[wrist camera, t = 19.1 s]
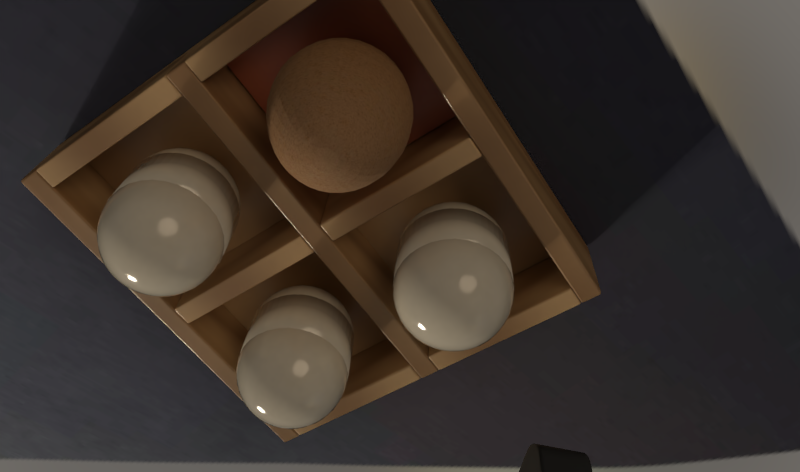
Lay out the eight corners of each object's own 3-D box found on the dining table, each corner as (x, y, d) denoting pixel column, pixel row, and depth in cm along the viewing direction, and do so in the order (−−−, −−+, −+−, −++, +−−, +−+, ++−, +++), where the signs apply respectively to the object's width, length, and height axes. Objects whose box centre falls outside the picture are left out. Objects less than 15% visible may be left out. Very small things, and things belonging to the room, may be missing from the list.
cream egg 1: (202, 108, 26) (142, 187, 21) (274, 194, 28) (234, 286, 23) (122, 164, 27) (46, 251, 22) (195, 242, 29) (140, 340, 24)
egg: (271, 26, 24) (224, 90, 19) (407, 10, 24) (396, 72, 19) (298, 151, 26) (262, 238, 21) (423, 139, 26) (417, 225, 21)
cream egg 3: (470, 162, 27) (475, 252, 21) (525, 243, 28) (542, 345, 23) (378, 214, 28) (362, 311, 23) (436, 289, 29) (433, 394, 24)
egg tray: (374, -88, 23) (365, -71, 20) (588, 247, 29) (602, 294, 26) (60, 144, 28) (18, 181, 25) (297, 391, 34) (284, 443, 31)
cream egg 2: (319, 248, 29) (291, 348, 24) (378, 318, 30) (364, 426, 25) (241, 292, 30) (198, 396, 25) (302, 358, 32) (273, 468, 27)
